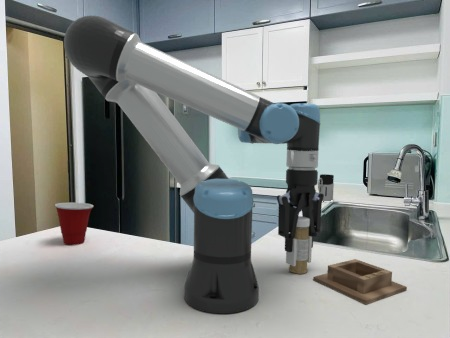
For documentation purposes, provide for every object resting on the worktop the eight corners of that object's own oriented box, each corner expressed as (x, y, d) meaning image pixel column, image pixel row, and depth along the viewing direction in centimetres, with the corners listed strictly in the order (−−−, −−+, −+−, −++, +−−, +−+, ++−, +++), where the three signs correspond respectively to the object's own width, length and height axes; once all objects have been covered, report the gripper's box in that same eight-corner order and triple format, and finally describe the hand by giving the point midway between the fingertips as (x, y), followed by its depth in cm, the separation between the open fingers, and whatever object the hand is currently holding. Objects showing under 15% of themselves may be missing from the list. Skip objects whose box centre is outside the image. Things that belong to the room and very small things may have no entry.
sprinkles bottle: (286, 268, 88) (288, 215, 87) (304, 267, 88) (306, 215, 87) (291, 274, 83) (293, 219, 82) (310, 274, 84) (312, 219, 83)
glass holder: (336, 201, 196) (337, 175, 194) (325, 204, 185) (326, 176, 184) (321, 199, 201) (322, 174, 200) (310, 202, 191) (311, 175, 190)
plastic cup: (97, 244, 105) (97, 205, 104) (58, 249, 99) (58, 208, 98) (89, 236, 114) (88, 199, 113) (52, 240, 108) (52, 202, 107)
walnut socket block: (365, 304, 68) (366, 284, 68) (313, 280, 80) (313, 263, 80) (406, 290, 76) (407, 272, 75) (353, 269, 88) (353, 254, 87)
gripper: (285, 170, 76) (281, 273, 78) (338, 169, 85) (334, 261, 87) (263, 168, 83) (261, 263, 84) (316, 167, 92) (312, 253, 93)
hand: (298, 262), depth 86 cm, fingers closed on sprinkles bottle, 4 cm apart
